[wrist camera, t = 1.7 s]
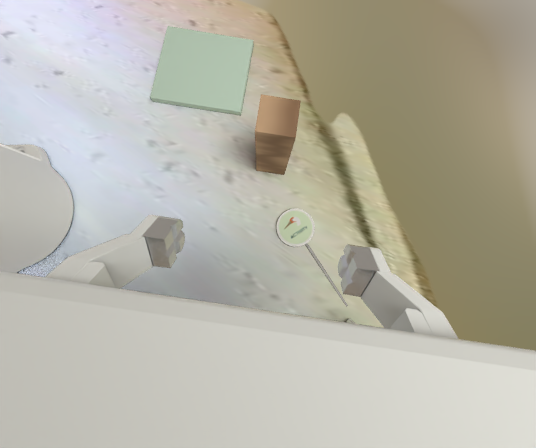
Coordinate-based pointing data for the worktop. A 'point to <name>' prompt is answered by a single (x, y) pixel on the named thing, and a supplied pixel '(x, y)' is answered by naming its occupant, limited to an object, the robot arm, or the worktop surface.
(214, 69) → the rubber mat
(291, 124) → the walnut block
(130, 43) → the worktop surface
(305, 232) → the sign
